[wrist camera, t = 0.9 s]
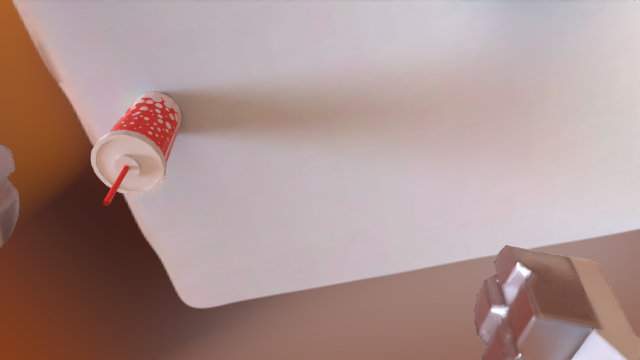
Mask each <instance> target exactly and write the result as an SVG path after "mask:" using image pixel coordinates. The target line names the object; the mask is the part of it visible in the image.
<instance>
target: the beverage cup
mask: <svg viewBox="0 0 640 360" xmlns="http://www.w3.org/2000/svg"><path fill="white" fill-rule="evenodd" d="M181 121H182V113H181V110H180V107H179V105H178V104H177V103H176V102H175V101H174V99H172V98H171V97H169V96H167V95H166V94H163V93H159V92H149V93H145V94H143V95H142V96H140V97H139V98H138V99H137V100H136V101H135V102H134V104H133V105H132V106H131V107H130V108H129V110H128V111H127V112H126V113H125V114H124V115H123V117H122V118H121V119H120V120H119V121H118V123H117V124H116V125H115V126H114V127H113V128H112V130H111V131H110V132H109V133H107V134H106V135H104V136H102V137H101V138H100V140H98V141H97V143H96V145H95V146H94V148H93V150H92V151H91V164H92V166H93V169H94V171H95V173H96V175H97V176H98V177H99V178H100V179H101V180H102V181H103V182H104V183H105V184H106V185H107V186H109V187H111V189H110V191H109V193H108V195H107V196H106V198H105V200H104V201H103V204H104V205H105V206H108V205H109V204H110V202H111V200H112V198H113V197H114V195H115V193H116V191H118V192H120V193H125V194H129V195H142V194H147V193H149V192H151V191H153V190H155V189H157V188H158V186H159V185H160V184H161V182H162V181H163V179H164V176H165V174H166V164H167V160H168V157H169V155H170V152H171V149H172V147H173V144H174V141H175V138H176V136H177V133H178V130H179V128H180V125H181Z"/></svg>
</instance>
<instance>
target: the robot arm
mask: <svg viewBox="0 0 640 360" xmlns="http://www.w3.org/2000/svg"><path fill="white" fill-rule="evenodd" d="M14 170H15V166H14V161H13V155H12V152H11V151H10V150H9V149H8V148H7V147H5V146H2V145H0V247H2V246H3V245H4V244H5V242H6V241H7V239H8V238H9V237H10V235H11V234H12V232H13V229H14V227H15V224H16V221H17V219H18V213H19V196H18V191H17V190H16V188H15V187H14V186H13V185H12V184H11V183H10V182H9V180H8V179H7V178H8V176H9V175H10V174H11V173H12V172H13V171H14ZM494 264H495V267H496V271H497V274H495V275H494V276H492V277H490V278H488V279H486V280H485V281H484V282H483V284H482V287H481V289H480V291H479V293H478V295H477V300H476V305H475V325H476V331H477V334H478V336H480V338H481V339H482V340H483V341H484V342H485V343H486V345H487V346H488V347H487V348H486V350H485V352H484V353H483V355H482V359H483V360H640V337H637V336H635V334H634V332H633V330H632V328H631V326H630V324H629V322H628V320H627V318H626V316H625V314H624V312H623V310H622V308H621V306H620V304H619V302H618V300H617V298H616V296H615V294H614V292H613V290H612V288H611V286H610V285H609V282H608V280H607V279H606V277H605V275H604V273H603V271H602V269H601V267H600V266H599V265H598V264H597V263H596V262H595V261H594V260H588V259H583V258H577V257H571V256H560V255H554V254H549V253H544V252H539V251H534V250H528V249H523V248H518V247H513V246H508V245H506V246H505V247H504V248H503V249H502V250H501V251H500V252H499V254H498V256H497V258H496V259H495V261H494Z"/></svg>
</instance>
